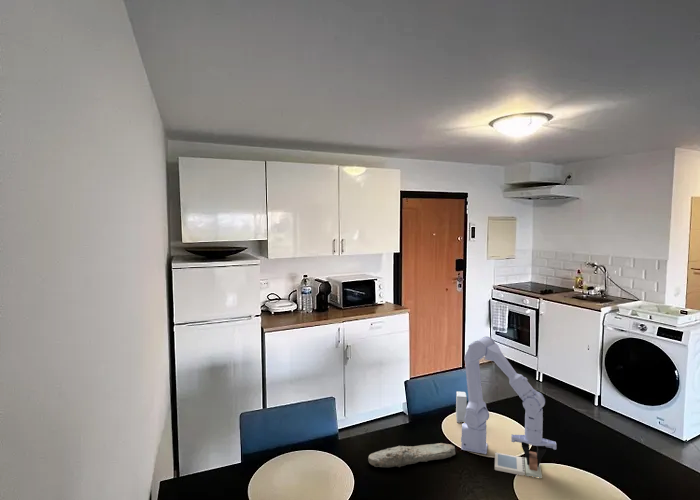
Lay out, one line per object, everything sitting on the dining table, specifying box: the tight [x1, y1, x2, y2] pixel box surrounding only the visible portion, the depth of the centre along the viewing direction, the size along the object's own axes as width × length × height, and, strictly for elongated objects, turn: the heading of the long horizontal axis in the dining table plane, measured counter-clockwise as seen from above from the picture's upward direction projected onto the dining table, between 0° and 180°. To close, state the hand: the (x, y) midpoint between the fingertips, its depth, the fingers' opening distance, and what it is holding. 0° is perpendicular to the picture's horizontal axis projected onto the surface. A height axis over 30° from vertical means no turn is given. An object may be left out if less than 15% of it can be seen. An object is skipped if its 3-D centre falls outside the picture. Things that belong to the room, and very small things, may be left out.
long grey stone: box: [367, 442, 456, 468], centre depth 149 cm, size 35×5×10 cm
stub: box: [524, 450, 543, 479], centre depth 142 cm, size 5×10×5 cm, turn 159°
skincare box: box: [455, 390, 468, 423], centre depth 179 cm, size 6×4×12 cm
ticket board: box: [494, 451, 526, 476], centre depth 144 cm, size 10×10×1 cm
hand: (532, 464), depth 142 cm, fingers closed on stub, 2 cm apart
